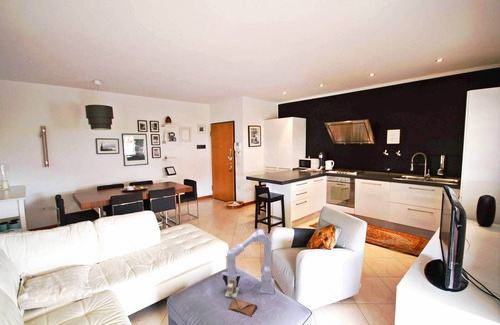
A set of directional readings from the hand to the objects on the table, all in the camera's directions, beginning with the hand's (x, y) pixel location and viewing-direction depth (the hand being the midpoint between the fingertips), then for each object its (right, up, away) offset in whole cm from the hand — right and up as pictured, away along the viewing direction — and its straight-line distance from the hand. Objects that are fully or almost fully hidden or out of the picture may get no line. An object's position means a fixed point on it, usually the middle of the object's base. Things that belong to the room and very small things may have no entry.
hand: (232, 285), depth 162 cm
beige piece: (0, -2, 0) cm, 2 cm away
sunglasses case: (+8, -7, -16) cm, 19 cm away
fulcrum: (0, -5, 0) cm, 5 cm away
